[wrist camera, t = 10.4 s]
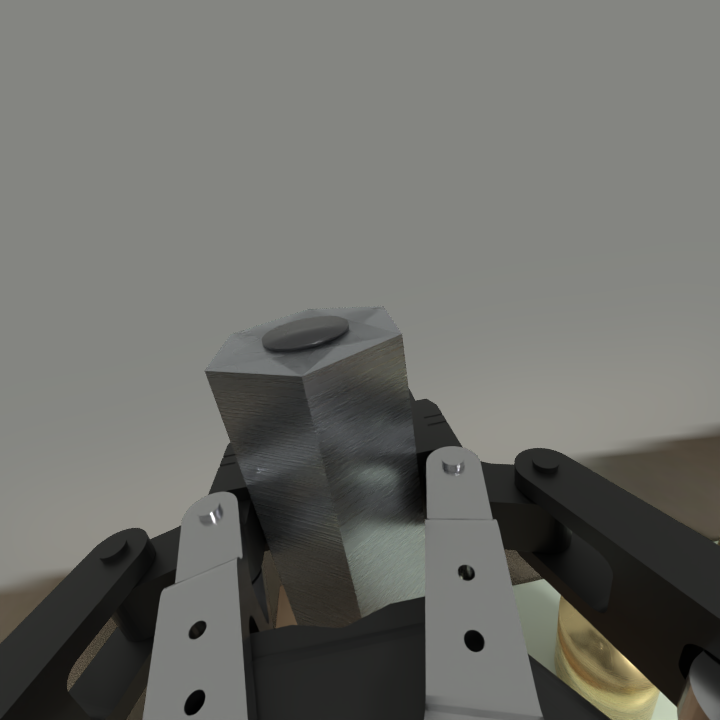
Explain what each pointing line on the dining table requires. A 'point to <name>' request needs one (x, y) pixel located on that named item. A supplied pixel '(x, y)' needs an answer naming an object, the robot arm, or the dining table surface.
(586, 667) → the spacers
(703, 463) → the dining table surface
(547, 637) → the parts mat
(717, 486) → the dining table surface
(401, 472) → the grey hexagonal metal post
